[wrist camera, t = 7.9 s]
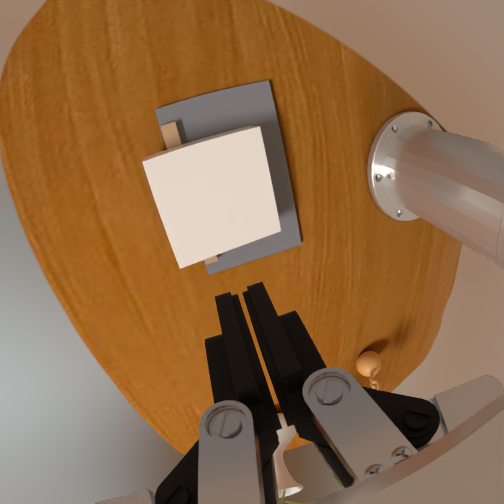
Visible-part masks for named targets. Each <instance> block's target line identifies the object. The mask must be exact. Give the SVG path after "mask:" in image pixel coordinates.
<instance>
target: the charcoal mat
mask: <svg viewBox="0 0 504 504" xmlns="http://www.w3.org/2000/svg"><path fill="white" fill-rule="evenodd" d="M155 112H156V115H157V119H158V122H159V126H160V129H161V132H162V136H163V139H164V142H165V146H166V149H170V148H173V147H176V146H179V145H182V144H186V143H189V142H192V141H195V140H199V139H202V138H205V137H209V136H212V135H216V134H220V133H223V132H227V131H231V130H235V129H239V128H243V127H247V126H259V127H260V129H261V134H262V138H263V143H264V148H265V153H266V157H267V162H268V167H269V172H270V177H271V182H272V187H273V192H274V197H275V202H276V207H277V212H278V217H279V222H280V228H281V231H280V232H278V233H275V234H272V235H269V236H267V237H264V238H261V239H258V240H256V241H253V242H250V243H248V244H245V245H242V246H239V247H237V248H234V249H231V250H229V251H226V252H223V253H220V254H218V255H215V256H212V257H210V258H207V259H204V263H205V266H206V269H207V271H208V274H209V275H210V274H213V273H216V272H219V271H222V270H225V269H228V268H232V267H235V266H238V265H241V264H244V263H247V262H250V261H253V260H256V259H259V258H262V257H265V256H268V255H271V254H274V253H277V252H280V251H283V250H286V249H289V248H292V247H295V246H298V245H301V238H300V232H299V226H298V221H297V215H296V209H295V204H294V198H293V193H292V187H291V182H290V177H289V172H288V167H287V162H286V157H285V152H284V147H283V142H282V137H281V132H280V128H279V123H278V119H277V114H276V110H275V105H274V101H273V96H272V92H271V88H270V84H269V80H268V81H263V82H257V83H252V84H247V85H242V86H238V87H233V88H229V89H225V90H221V91H216V92H212V93H209V94H205V95H201V96H197V97H194V98H190V99H187V100H183V101H180V102H177V103H174V104H170V105H167V106H164V107H161V108H158V109H155Z"/></svg>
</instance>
